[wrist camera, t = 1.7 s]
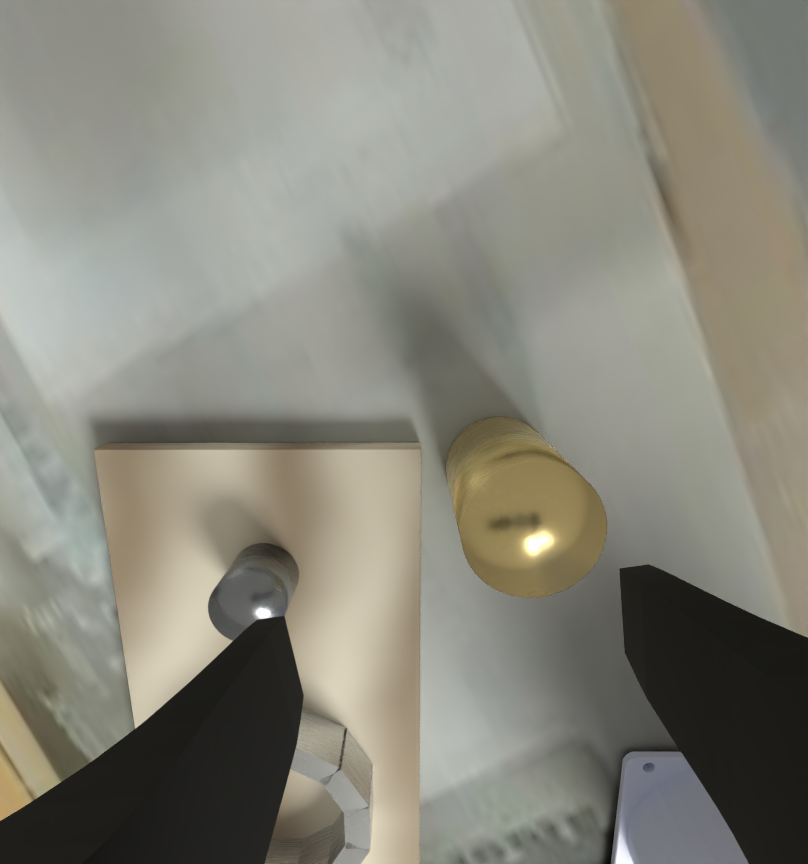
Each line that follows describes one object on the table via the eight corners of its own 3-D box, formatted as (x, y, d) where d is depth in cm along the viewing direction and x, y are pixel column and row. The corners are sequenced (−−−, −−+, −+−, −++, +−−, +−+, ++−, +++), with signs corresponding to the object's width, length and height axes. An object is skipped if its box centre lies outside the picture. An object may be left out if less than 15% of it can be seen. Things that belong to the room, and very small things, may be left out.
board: (420, 442, 20) (420, 449, 19) (418, 850, 24) (419, 873, 23) (108, 443, 20) (93, 449, 19) (166, 849, 25) (156, 871, 24)
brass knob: (552, 416, 20) (613, 462, 14) (545, 515, 20) (600, 597, 15) (446, 416, 20) (462, 462, 14) (445, 515, 21) (459, 597, 15)
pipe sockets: (367, 543, 20) (362, 576, 17) (374, 856, 23) (370, 920, 21) (159, 542, 20) (124, 576, 17) (198, 854, 23) (173, 918, 21)
